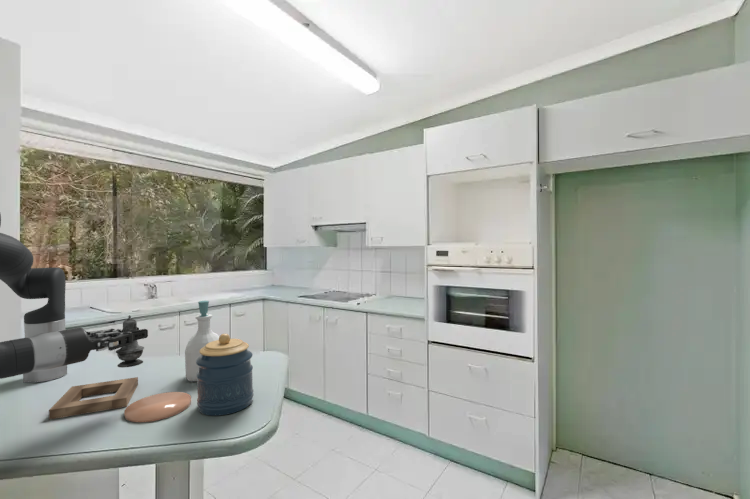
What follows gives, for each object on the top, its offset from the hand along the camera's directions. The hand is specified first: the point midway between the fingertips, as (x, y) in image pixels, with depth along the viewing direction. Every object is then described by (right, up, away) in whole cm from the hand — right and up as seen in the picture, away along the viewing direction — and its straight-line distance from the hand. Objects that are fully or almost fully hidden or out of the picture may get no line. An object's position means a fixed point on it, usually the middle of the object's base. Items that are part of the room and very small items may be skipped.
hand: (142, 332), depth 92 cm
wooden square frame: (-13, -18, +2) cm, 22 cm away
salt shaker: (-1, -7, -2) cm, 8 cm away
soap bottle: (+8, -17, +18) cm, 26 cm away
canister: (+22, -18, -1) cm, 28 cm away
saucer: (+6, -18, -3) cm, 19 cm away
